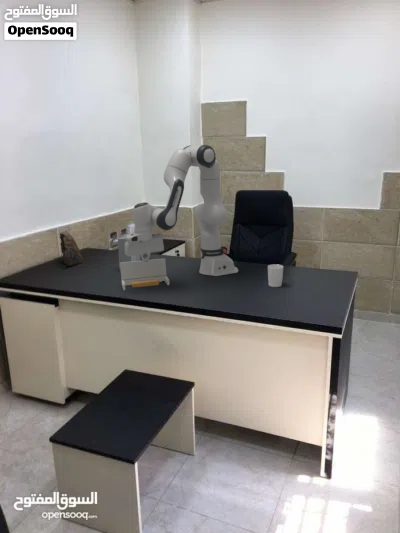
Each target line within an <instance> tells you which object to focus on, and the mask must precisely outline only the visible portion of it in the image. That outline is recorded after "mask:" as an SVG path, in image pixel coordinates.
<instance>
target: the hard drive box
mask: <svg viewBox="0 0 400 533" xmlns="http://www.w3.org/2000/svg"><path fill="white" fill-rule="evenodd" d="M129 234H130V233H127V234H125V235H123V236H121V237H119V238H117V247H118V250H117V251H118V263H119V272H121V268H120V263H121V262H131V261H141V257H140V255H134V256H127V255H126V254H125V242H126V241H127V240H126V236H127V235H129Z"/></svg>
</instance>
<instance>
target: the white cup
mask: <svg viewBox="0 0 400 533" xmlns="http://www.w3.org/2000/svg"><path fill="white" fill-rule="evenodd" d="M283 277H284V265H282V264H275V263H274V264H269V265H267V280H268V286H269V287H272V288H278V287H282V284H283Z"/></svg>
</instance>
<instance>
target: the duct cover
mask: <svg viewBox="0 0 400 533" xmlns="http://www.w3.org/2000/svg"><path fill="white" fill-rule="evenodd" d="M166 264H167V263H166V258H153V259H149V262H142V260H140V261H131V262H121V263H120V267H119V269H120V268H121V271H120V278H121V281H122V280H131V279H141V278H150V277H160V276H167V266H166Z"/></svg>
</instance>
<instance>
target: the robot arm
mask: <svg viewBox="0 0 400 533" xmlns="http://www.w3.org/2000/svg"><path fill="white" fill-rule="evenodd" d="M216 158H217V157H216V153H215V150H214V148H213V147H212V146H210V145H208V144H193V145H186V146H184V147H183V148H179V149H176V150H175V151H174V152H173V154H172V155H171V157H170V159H169V160H168V163H167V165H166V167H165V169H164V173H163V181H164V182H165V184H166V186H167V187H168V188H169V195H168V199H167V202H166V206H165V207H164V208H162V207H158V206H154V205H151V204H150V203H149V202H146V201H145V202H144V201H143V202H140V203H137V204H135V205H134V207H133V210H132V218H133V225H134V230H133V231H134V232H131V233H128V234H129V235H127V236H126V240H127V241H126V242H125V254H126V255H127V256H134V255H140V259H141V261H142V262H149V260H150V257H151V253H152V254H153V253H159V252H163V251H164V250H165V246H164V242H163V241H164V236H163V234H162V233H153V227H156V228H159V229H161V230H164V231H170V230H172V229H174V227H175V226H176V224H177V222H178V212H179V208H180V204H181V202H182V198H183V194H184V190H185V180H186V177H187V175H188V172H189V170H190V168H191V167H197V168H198V169H199V172H200V173H199V187H200V188H199V190H200V192H199V193H200V195H201V197H202V199H203V202H202V203H199V204H198V205H196V206H195V208H194V210H193V216H194V217H195V219H196V221H197V224H198V228H199V232H200V233H199V234H200V239H201V240H200V246H201V247H200V267H199V270H198V272H199V274H201V275H205V276H206V275H207V276H213V277H219V276H223V275H224V276H225V275H230V274H237V273H238V272H239V269H238V267H236V266H235V264H234V261H233V259H232V258H231V257H229V256H228V255H227V254H226V253H227V249H226V248H223V247H222V243H221V242H222V241H221V239H222V238H221V233H220V231H219V229H218V226H222V225H225V223H227V222H228V218H229V213H228V211H227V209H226V208H225V205H224V203H223V199H222V193H221V192H222V191H221V168H220V163H219V160H217V159H216ZM145 254H146V257H144V255H145Z"/></svg>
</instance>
